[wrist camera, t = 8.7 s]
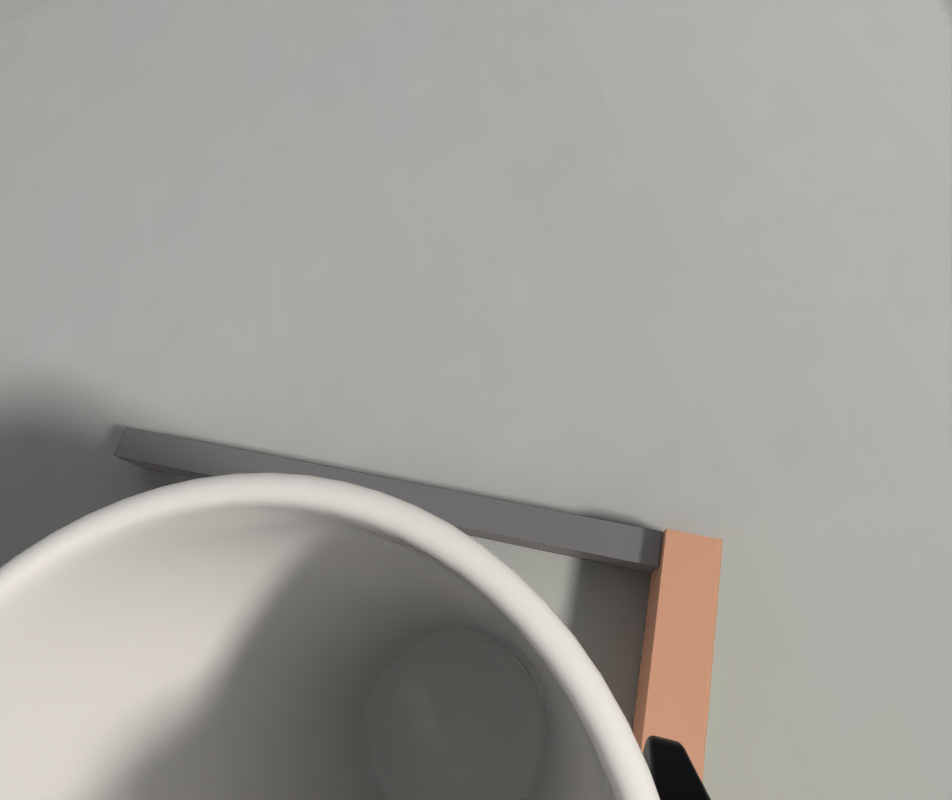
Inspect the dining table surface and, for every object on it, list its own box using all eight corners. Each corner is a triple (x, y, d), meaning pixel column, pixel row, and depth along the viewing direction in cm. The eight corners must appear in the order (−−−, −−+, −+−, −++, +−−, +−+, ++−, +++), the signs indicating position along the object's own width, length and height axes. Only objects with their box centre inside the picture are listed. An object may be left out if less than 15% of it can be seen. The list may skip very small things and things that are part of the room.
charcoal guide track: (-7, 826, 18) (-52, 841, 17) (151, 440, 22) (125, 426, 21) (595, 1028, 15) (599, 1067, 14) (654, 540, 19) (662, 531, 18)
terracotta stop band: (596, 1029, 15) (603, 1081, 14) (655, 540, 19) (666, 528, 18) (659, 1050, 15) (675, 1106, 13) (705, 549, 19) (722, 539, 17)
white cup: (321, 643, 19) (-276, 628, 5) (530, 562, 19) (489, 344, 5) (383, 903, 17) (-458, 2226, 3) (623, 807, 17) (996, 1568, 3)
